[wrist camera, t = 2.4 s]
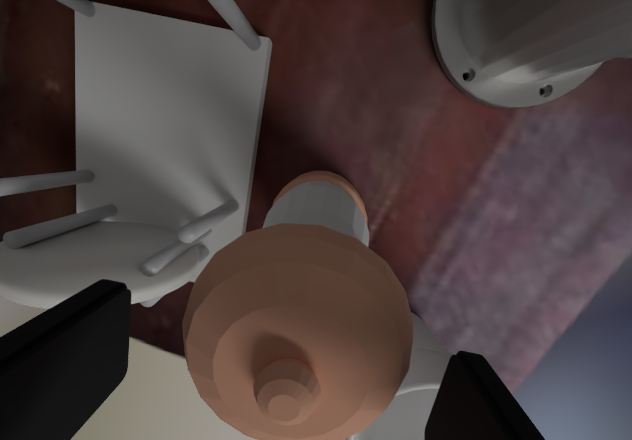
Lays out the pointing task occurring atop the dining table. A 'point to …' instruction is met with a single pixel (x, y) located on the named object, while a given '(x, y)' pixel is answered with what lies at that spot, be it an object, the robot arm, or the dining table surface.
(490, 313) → the dining table surface
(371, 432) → the cup
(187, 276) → the dish rack
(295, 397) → the salt shaker
